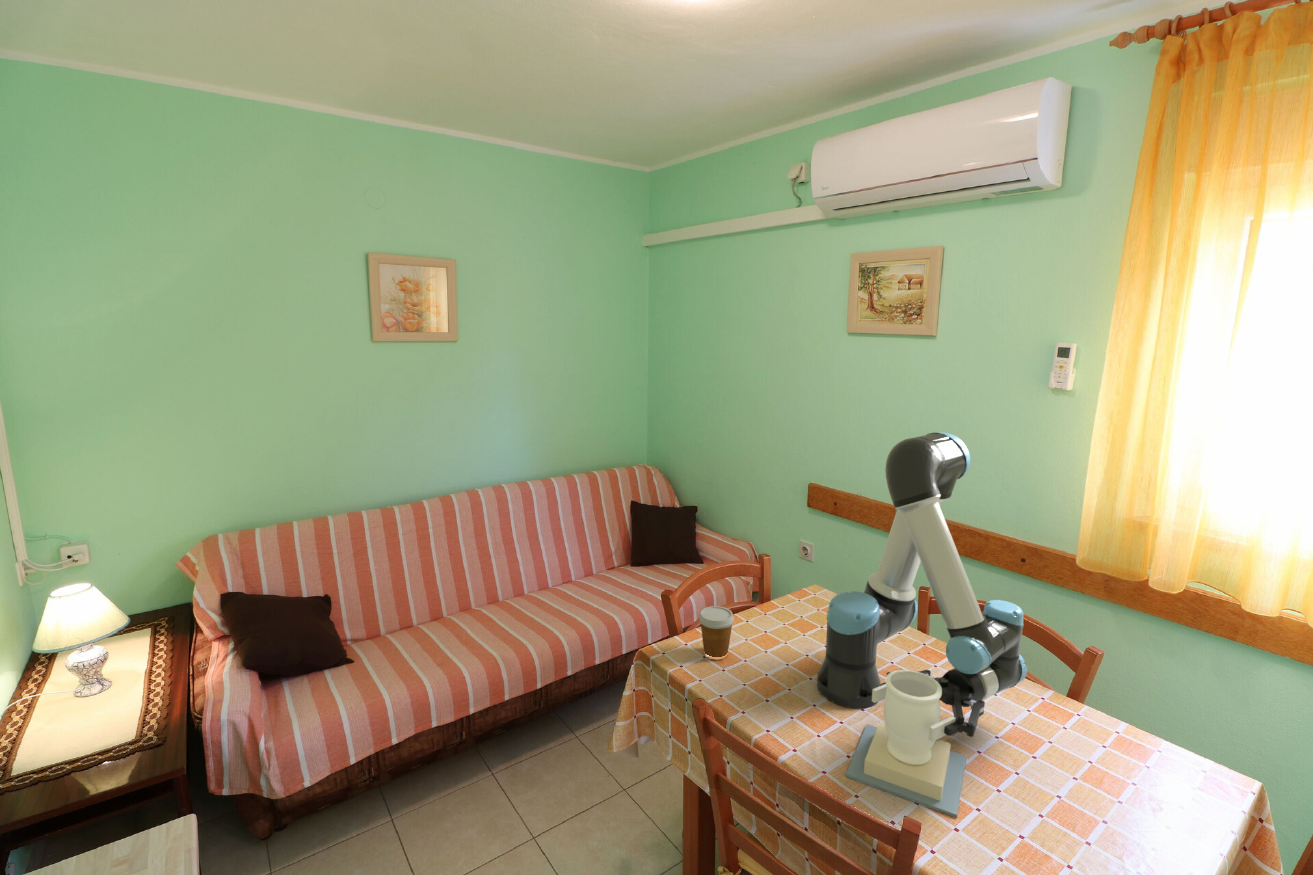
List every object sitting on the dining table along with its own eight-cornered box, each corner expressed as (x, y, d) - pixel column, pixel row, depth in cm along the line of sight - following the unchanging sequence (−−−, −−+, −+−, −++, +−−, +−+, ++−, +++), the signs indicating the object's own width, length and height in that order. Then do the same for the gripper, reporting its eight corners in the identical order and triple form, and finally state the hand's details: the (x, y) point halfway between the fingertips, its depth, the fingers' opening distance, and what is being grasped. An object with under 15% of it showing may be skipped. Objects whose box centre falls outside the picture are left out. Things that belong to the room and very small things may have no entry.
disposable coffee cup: (692, 657, 166) (692, 616, 163) (708, 642, 174) (708, 602, 171) (724, 667, 161) (725, 625, 158) (739, 651, 169) (740, 610, 166)
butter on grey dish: (845, 776, 122) (846, 760, 122) (866, 726, 137) (867, 711, 137) (956, 817, 112) (958, 800, 111) (966, 758, 127) (967, 742, 127)
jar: (932, 777, 117) (937, 705, 114) (876, 757, 122) (880, 689, 120) (940, 745, 126) (946, 678, 123) (887, 728, 131) (891, 663, 129)
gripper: (1026, 733, 121) (956, 770, 111) (918, 671, 142) (851, 697, 132) (1030, 698, 119) (960, 733, 109) (920, 641, 141) (853, 666, 131)
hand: (900, 714), depth 121 cm, fingers open, 13 cm apart
